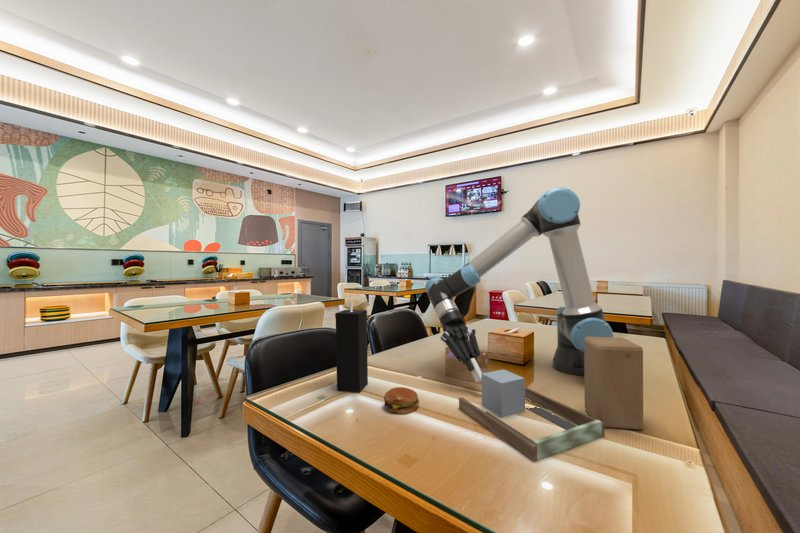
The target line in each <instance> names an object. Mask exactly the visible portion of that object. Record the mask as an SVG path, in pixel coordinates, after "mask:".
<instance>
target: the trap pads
mask: <svg viewBox="0 0 800 533" xmlns="http://www.w3.org/2000/svg"><path fill="white" fill-rule="evenodd" d="M526 410H528V408H527V409H526ZM530 410H531V411H530ZM528 411H530V412H532V413H534V414H535V415H537V416H539V415H540V417H541V416H542V417H541V418H543V417H544V418H543V419H545V418H546V419H545V420H547V419H548V420H547V421H549V420H550V421H549V422H550V423H553V424H554V423H555V425H556V424H557V426H559V427H560V428H563V430H568V429H571V428H574V427H577V426H578V425H577V424H575V423H573V422H571V421H569V420H567V419H565V418H563V417H561V416H559V415H558V416H557V414H554V415H552V414H553V412H551V411H549V410H547V409H545V408H543V407H540V408H537V407H534V408H529V410H528ZM485 412H486V413H487V414H489V415H490V416H492V417H493V418H495V419H496V420H498V421H500V422H501V423H503V424H504V425H506V426H507V427H509V428H510V429H512V430H514V431H515V432H517V433H518V434H520V435H521V436H523V437H524V438H526V439H528V440H529V441H531V442H532V443H533V441H534V440H532V439H531V438H530V437H528V436H526V435H525V434H523V433H521V432H520V431H518V430H517V429H515V428H514V427H513V426H510V425H509V424H507V423H505V422H504V421H503V420H502V419H499V418H498V417H497V416H494V415H493V414H492V413H490V412H488V411H485Z"/></svg>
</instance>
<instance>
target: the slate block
mask: <svg viewBox="0 0 800 533" xmlns="http://www.w3.org/2000/svg"><path fill="white" fill-rule="evenodd" d="M525 380H526V379H525V377H523V376H520V375H518V374H516V373H513V372H511V371H508V370H506V369H498V370H493V371H488V372H482V381H481V406H483V407H484V408H485V409H487V410H489V411H490V412H492V413H494V414H495V415H497V416H498V417H499V418H501V417H503V418H506V417H510V416H513V414H514V415H516V413H517V414H521V413H524V411H525V412H526V408H525V402H526V399H525V387H526V384H525ZM520 412H521V413H520ZM509 415H510V416H509ZM505 416H506V417H505Z"/></svg>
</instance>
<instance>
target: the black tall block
mask: <svg viewBox="0 0 800 533" xmlns="http://www.w3.org/2000/svg"><path fill="white" fill-rule="evenodd" d="M348 308H349V309H343V310H341V311H337V312H336V313H334V314H335V315H334V316H335V318H334V319H335V352H336V354H335V355H336V358H335V359H336V361H335V362H336V363H335V364H336V391H339V392H348V393H349V392H350V393H361V392H362V391H363V389H364V388H365V387H366V386H367V385H369V377H368V376H369V374H368V373H369V372H368V371H369V370H368V366H369V365H368V364H369V363H368V321H367V319H368V317H367V316H368V310H367V309H353V308H354V301H351V302H348Z"/></svg>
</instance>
